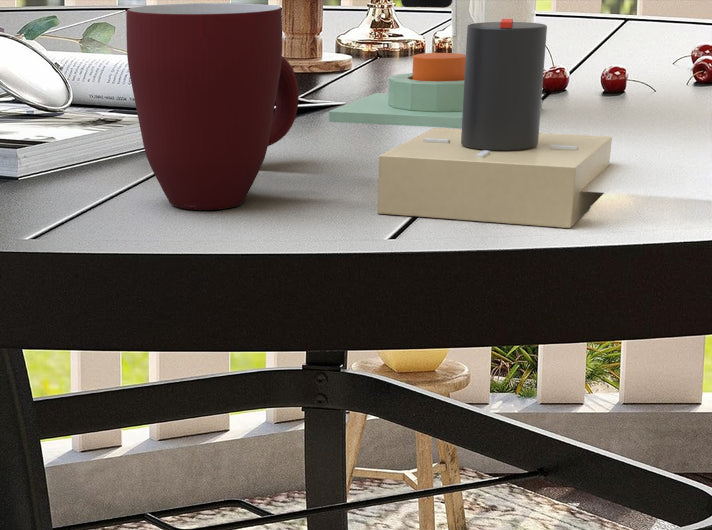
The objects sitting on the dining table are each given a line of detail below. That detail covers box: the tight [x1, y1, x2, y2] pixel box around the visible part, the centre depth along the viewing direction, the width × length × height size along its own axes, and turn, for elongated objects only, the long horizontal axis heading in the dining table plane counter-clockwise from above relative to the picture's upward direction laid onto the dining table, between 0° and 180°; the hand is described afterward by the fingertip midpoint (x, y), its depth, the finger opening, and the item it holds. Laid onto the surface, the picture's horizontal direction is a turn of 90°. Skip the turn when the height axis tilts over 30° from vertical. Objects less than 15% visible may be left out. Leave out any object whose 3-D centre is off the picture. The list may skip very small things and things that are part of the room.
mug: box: [125, 2, 300, 211], centre depth 75 cm, size 10×8×10 cm
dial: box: [461, 18, 548, 151], centre depth 73 cm, size 4×4×6 cm
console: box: [376, 127, 613, 229], centre depth 74 cm, size 10×10×3 cm
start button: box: [411, 52, 466, 81], centre depth 93 cm, size 4×4×2 cm
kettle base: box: [328, 72, 544, 129], centre depth 94 cm, size 12×10×4 cm
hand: (442, 0), depth 92 cm, fingers open, 6 cm apart
